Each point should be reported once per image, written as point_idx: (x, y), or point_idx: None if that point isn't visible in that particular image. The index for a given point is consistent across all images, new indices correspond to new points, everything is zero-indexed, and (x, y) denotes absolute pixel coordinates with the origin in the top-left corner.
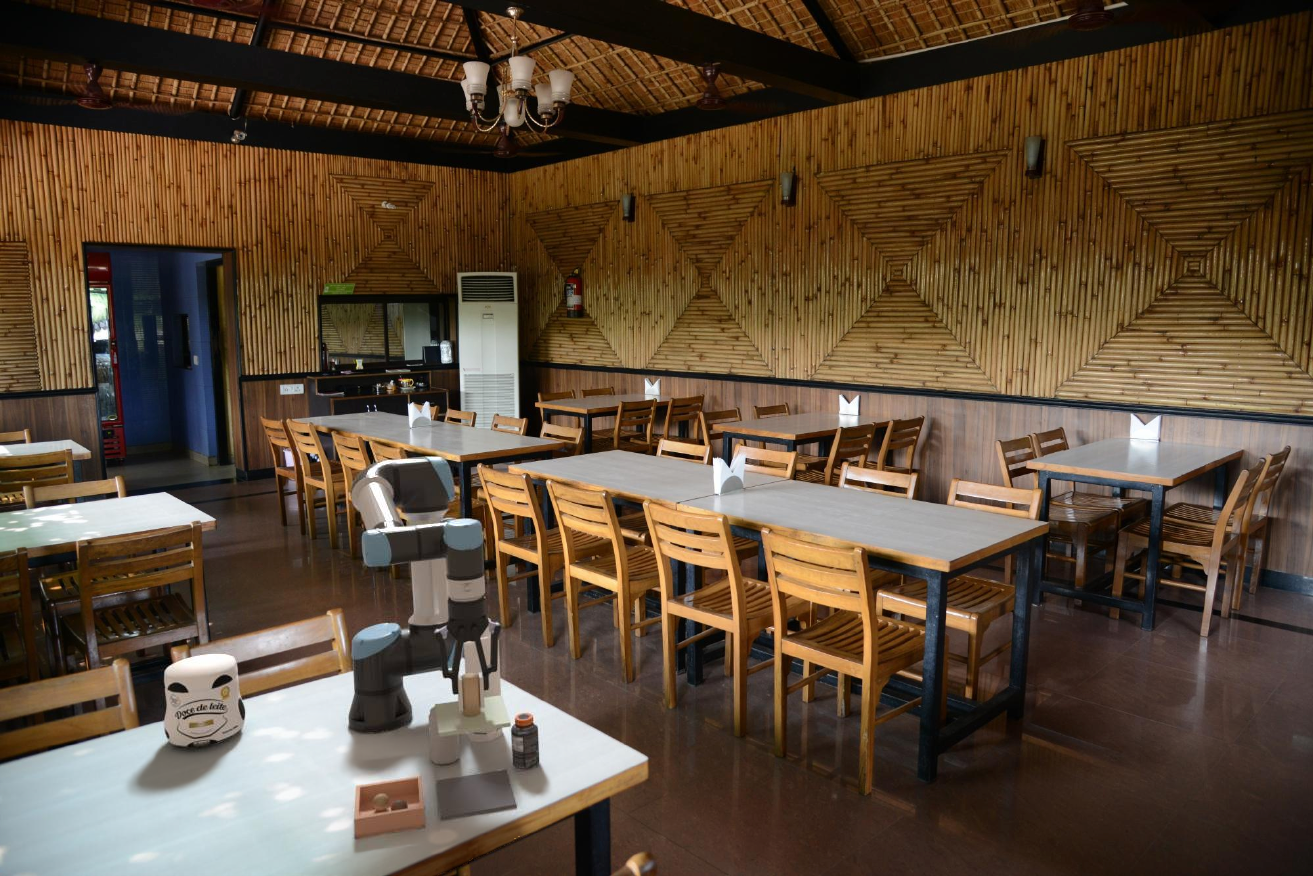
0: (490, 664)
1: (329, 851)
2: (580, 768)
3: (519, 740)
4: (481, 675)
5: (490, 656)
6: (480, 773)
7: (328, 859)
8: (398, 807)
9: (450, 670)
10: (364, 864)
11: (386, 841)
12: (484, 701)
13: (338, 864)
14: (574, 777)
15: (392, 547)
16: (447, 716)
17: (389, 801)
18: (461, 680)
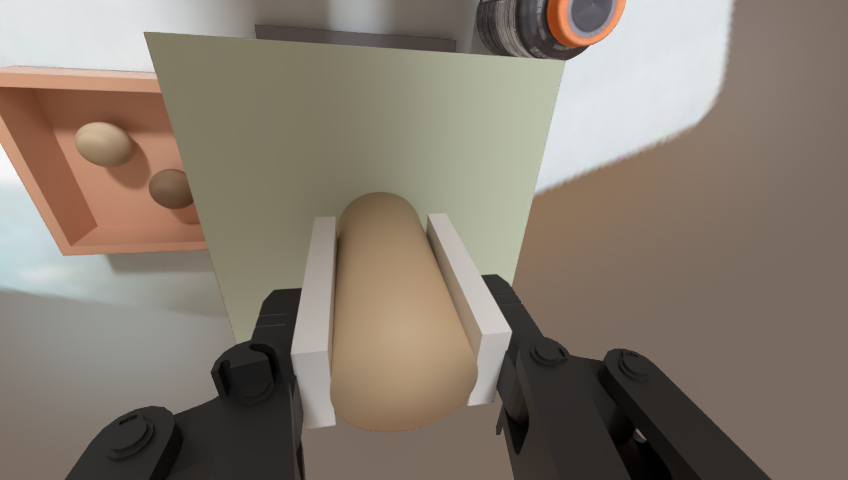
0: (614, 408)
1: (49, 258)
2: (606, 96)
3: (523, 53)
4: (491, 378)
5: (687, 477)
6: (385, 35)
7: (62, 281)
8: (172, 208)
9: (205, 467)
10: (153, 306)
11: (177, 252)
12: (460, 116)
13: (95, 298)
14: (577, 131)
15: None
16: (260, 234)
17: (128, 102)
18: (332, 423)
